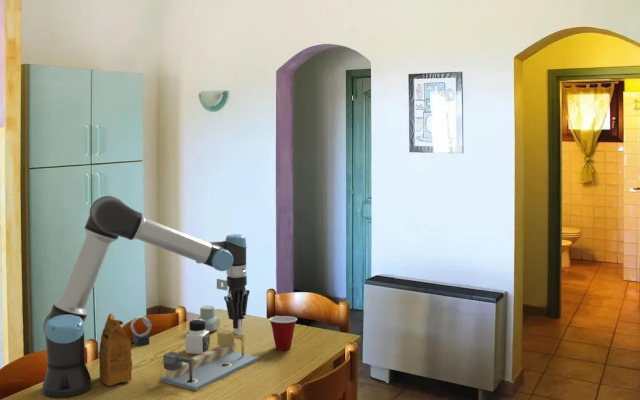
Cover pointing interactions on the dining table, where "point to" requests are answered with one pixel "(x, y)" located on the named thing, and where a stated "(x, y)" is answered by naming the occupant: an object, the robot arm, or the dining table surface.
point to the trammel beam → (192, 361)
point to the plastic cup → (283, 331)
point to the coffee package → (114, 353)
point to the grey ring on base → (142, 338)
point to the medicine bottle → (197, 337)
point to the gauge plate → (212, 371)
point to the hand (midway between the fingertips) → (237, 335)
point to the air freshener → (209, 318)
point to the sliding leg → (229, 339)
